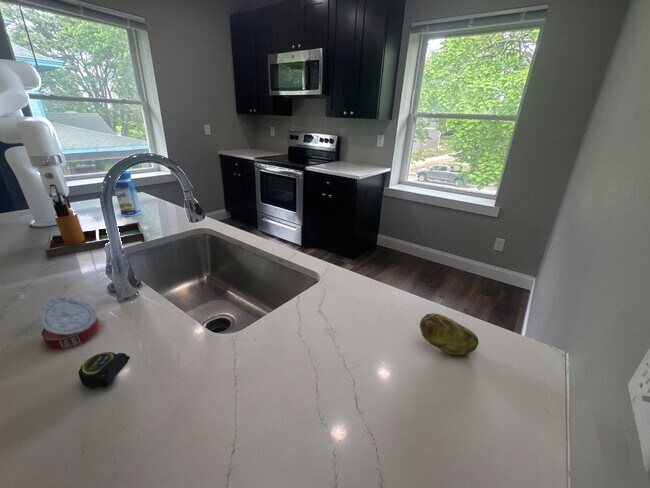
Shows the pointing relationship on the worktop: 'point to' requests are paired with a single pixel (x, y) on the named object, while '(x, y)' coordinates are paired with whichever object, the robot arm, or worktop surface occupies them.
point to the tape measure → (102, 369)
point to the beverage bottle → (127, 195)
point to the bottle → (70, 228)
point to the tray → (93, 240)
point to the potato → (448, 334)
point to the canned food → (67, 323)
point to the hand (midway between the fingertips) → (64, 212)
